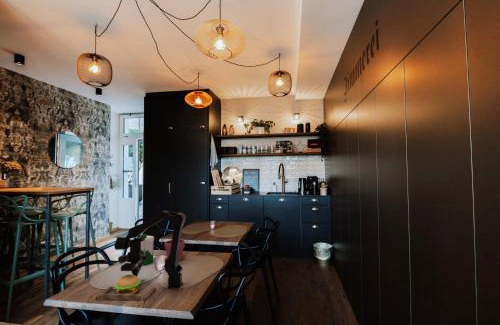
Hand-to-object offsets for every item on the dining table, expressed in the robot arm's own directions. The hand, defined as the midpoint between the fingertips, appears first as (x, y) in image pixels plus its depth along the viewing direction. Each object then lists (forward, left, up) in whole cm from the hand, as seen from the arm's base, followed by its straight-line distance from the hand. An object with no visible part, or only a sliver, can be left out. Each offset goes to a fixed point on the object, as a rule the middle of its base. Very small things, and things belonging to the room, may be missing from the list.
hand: (135, 278), depth 140 cm
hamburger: (0, +7, -5) cm, 8 cm away
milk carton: (+12, -36, -5) cm, 38 cm away
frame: (-1, +9, -4) cm, 10 cm away
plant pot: (-5, -45, -5) cm, 45 cm away
